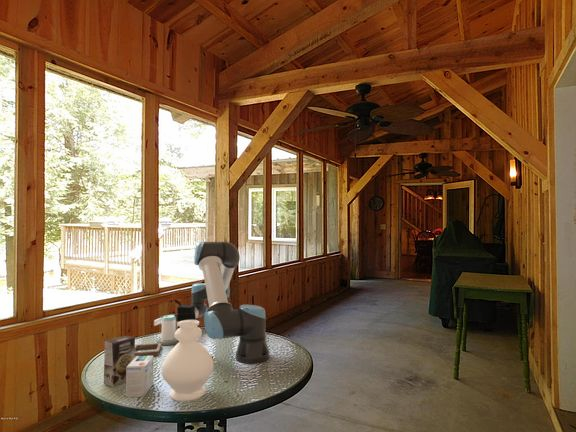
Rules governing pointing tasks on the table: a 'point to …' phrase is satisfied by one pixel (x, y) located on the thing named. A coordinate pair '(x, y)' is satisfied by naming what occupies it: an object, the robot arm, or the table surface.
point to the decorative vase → (187, 364)
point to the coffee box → (118, 359)
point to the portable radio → (185, 313)
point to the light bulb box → (139, 376)
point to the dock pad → (167, 342)
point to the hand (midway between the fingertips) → (165, 324)
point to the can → (168, 328)
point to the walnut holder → (148, 346)
